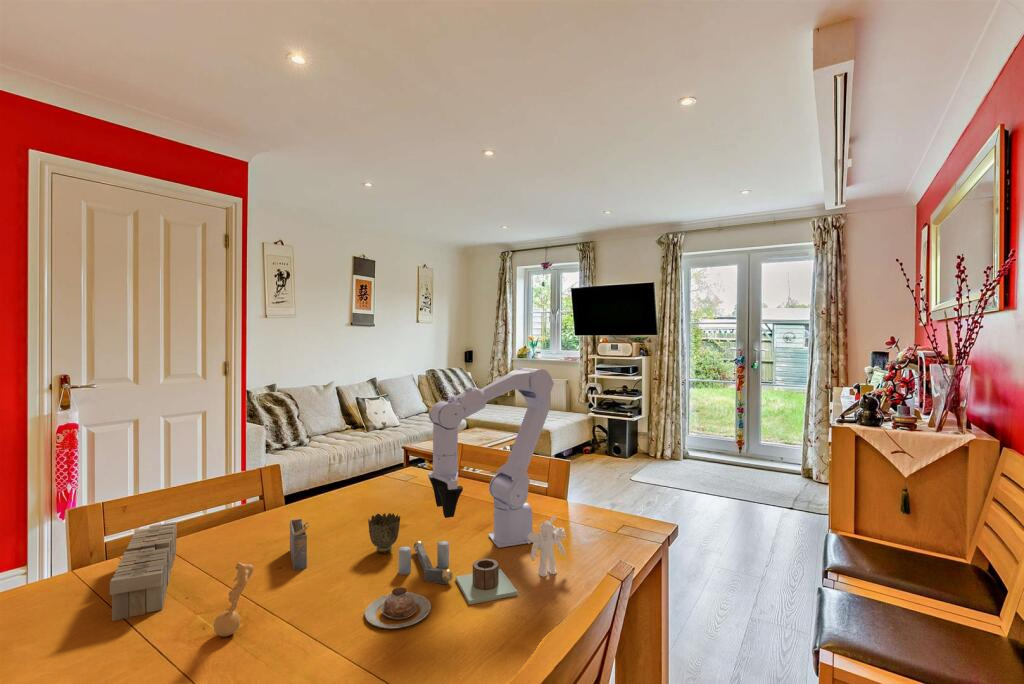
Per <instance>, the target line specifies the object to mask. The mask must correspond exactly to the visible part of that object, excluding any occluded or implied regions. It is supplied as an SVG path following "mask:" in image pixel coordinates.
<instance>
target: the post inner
mask: <svg viewBox="0 0 1024 684" xmlns="http://www.w3.org/2000/svg"><path fill="white" fill-rule="evenodd" d="M436 547H437V548H436V550H437V551H436V552H437V553H436V556H437V557H436V561H437V562H436V563H437V564H436V565H437V566H436V568H438V569H447V568H448V567H449V566H450V542H449V541H447V540H443V541H439V542H437V546H436Z"/></svg>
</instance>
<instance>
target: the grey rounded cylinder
mask: <svg viewBox="0 0 1024 684" xmlns="http://www.w3.org/2000/svg"><path fill="white" fill-rule="evenodd" d="M411 572H412V549H411V547H409V546H401V547H399V548H398V574H399V575H402V576H407V575H409V574H410V573H411Z"/></svg>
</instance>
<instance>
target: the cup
mask: <svg viewBox="0 0 1024 684" xmlns="http://www.w3.org/2000/svg"><path fill="white" fill-rule="evenodd" d="M400 524H401V515H399V514H398V513H397V514H396V515H395V513H394V512H392V513H391V512H389V513H388V514H386V512H385V513H383V514H380V513H376V514H375V515H371V519H369V518H368V519H367V525H368V531H369V538H370V542H371V543H372V544H373V546H375V547H376V548H375V549H376V552H377V553H378V554H382V555H383V554H385V555H386V554H388V553H390V552H391V551H392V549H393V545H394V544H395V543H396V541H397V540H398V538H399V533H400Z"/></svg>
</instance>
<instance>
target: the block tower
mask: <svg viewBox="0 0 1024 684" xmlns="http://www.w3.org/2000/svg"><path fill="white" fill-rule="evenodd" d="M177 523H178V522H177V521H174V522H173V521H172V522H165V523H163V524H154V525H150V526H149V527H147V528H143V529H142V528H141V529H135V530H134V533H133V534H132V536H131V539H130V541H129V543H128V545H127V547H126V549H125V550H126V551H124V552H123V554H122V558H121V559H120V561H119V563H118V566H117V568H116V570H115V572H114V574H113V577H112V578H110V581H109V595H110V596H111V620H112V622H114V621H118V620H123V619H126V618H131V617H132V618H133V617H137V616H140V615H145V614H146V613H152V612H157V611H162V610H163V609H164V605H165V598H166V594H167V588H168V586H169V585H170V579H171V578H170V576H171V573H172V568H173V567H174V561H175V558H176V556H177V535H178V534H177V533H178V530H177V525H178V524H177Z"/></svg>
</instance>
